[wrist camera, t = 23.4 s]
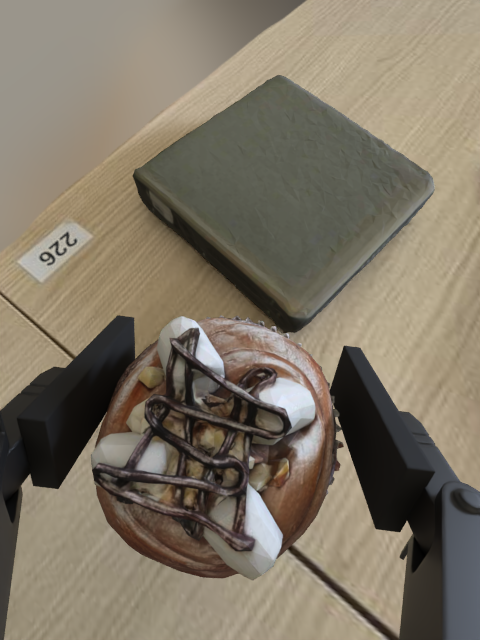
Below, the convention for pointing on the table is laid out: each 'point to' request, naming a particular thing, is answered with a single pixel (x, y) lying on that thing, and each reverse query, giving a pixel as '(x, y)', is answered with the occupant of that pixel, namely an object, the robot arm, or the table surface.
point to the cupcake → (217, 447)
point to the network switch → (284, 197)
